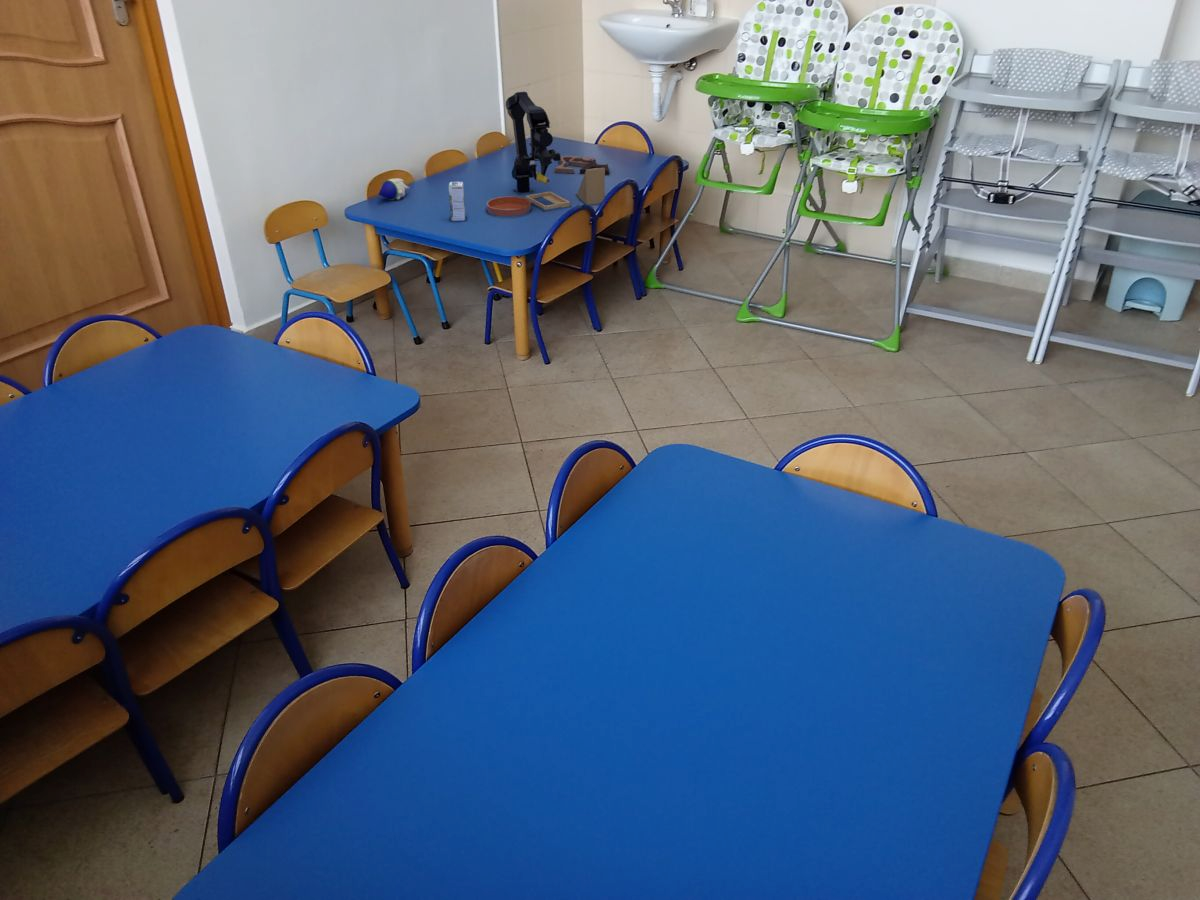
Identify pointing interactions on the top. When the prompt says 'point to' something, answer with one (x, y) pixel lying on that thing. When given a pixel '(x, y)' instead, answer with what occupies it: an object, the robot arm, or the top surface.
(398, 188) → the cartoon head
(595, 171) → the sandwich container
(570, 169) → the wood carving
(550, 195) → the tray
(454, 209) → the syrup box
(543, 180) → the banana
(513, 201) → the bowl
